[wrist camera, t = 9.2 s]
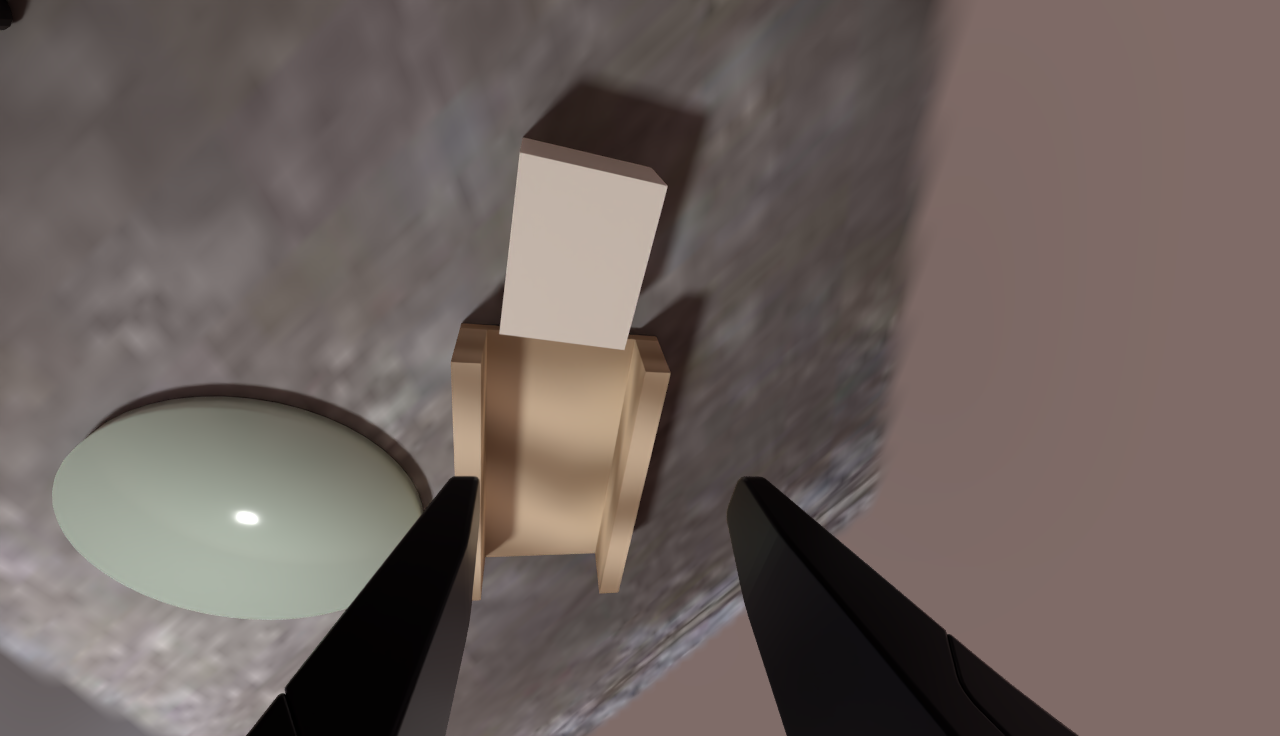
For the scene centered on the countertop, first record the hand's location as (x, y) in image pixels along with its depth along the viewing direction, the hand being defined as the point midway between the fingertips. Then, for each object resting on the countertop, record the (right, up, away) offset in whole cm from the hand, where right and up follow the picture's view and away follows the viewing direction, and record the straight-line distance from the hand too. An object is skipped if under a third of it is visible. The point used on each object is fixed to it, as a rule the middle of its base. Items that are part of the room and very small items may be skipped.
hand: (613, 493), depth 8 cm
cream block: (-2, +7, +10) cm, 13 cm away
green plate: (-17, -5, +15) cm, 23 cm away
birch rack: (-4, -2, +16) cm, 16 cm away
